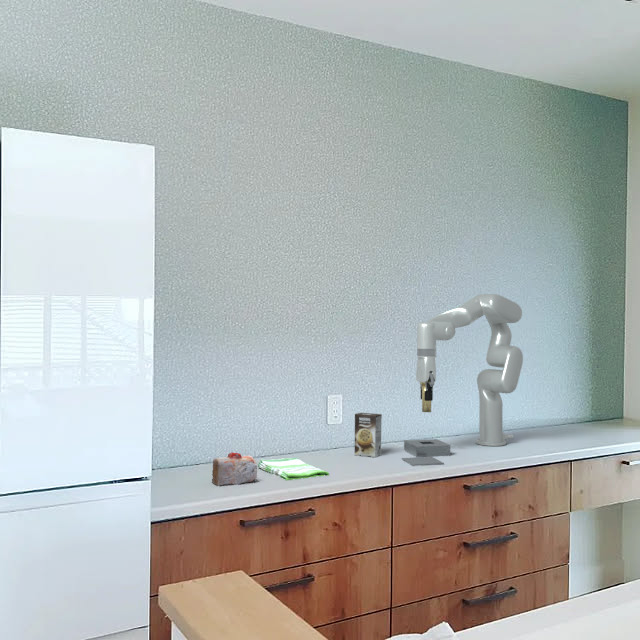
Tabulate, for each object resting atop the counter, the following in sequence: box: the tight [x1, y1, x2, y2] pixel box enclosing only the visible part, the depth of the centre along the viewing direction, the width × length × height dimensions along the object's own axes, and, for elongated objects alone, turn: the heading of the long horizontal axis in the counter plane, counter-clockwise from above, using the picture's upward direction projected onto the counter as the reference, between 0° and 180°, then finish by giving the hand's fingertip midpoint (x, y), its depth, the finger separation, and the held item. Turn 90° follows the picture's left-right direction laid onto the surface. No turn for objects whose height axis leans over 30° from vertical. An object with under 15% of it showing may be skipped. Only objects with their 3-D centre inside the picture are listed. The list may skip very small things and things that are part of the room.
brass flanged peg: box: [419, 381, 432, 413], centre depth 280 cm, size 5×5×12 cm
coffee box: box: [354, 412, 383, 458], centre depth 277 cm, size 9×6×16 cm
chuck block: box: [403, 438, 451, 457], centre depth 282 cm, size 14×14×4 cm
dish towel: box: [257, 457, 330, 481], centre depth 248 cm, size 17×23×4 cm
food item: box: [211, 452, 258, 487], centre depth 231 cm, size 14×8×10 cm, turn 118°
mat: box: [401, 456, 445, 466], centre depth 264 cm, size 12×12×1 cm
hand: (426, 399), depth 280 cm, fingers closed on brass flanged peg, 3 cm apart
